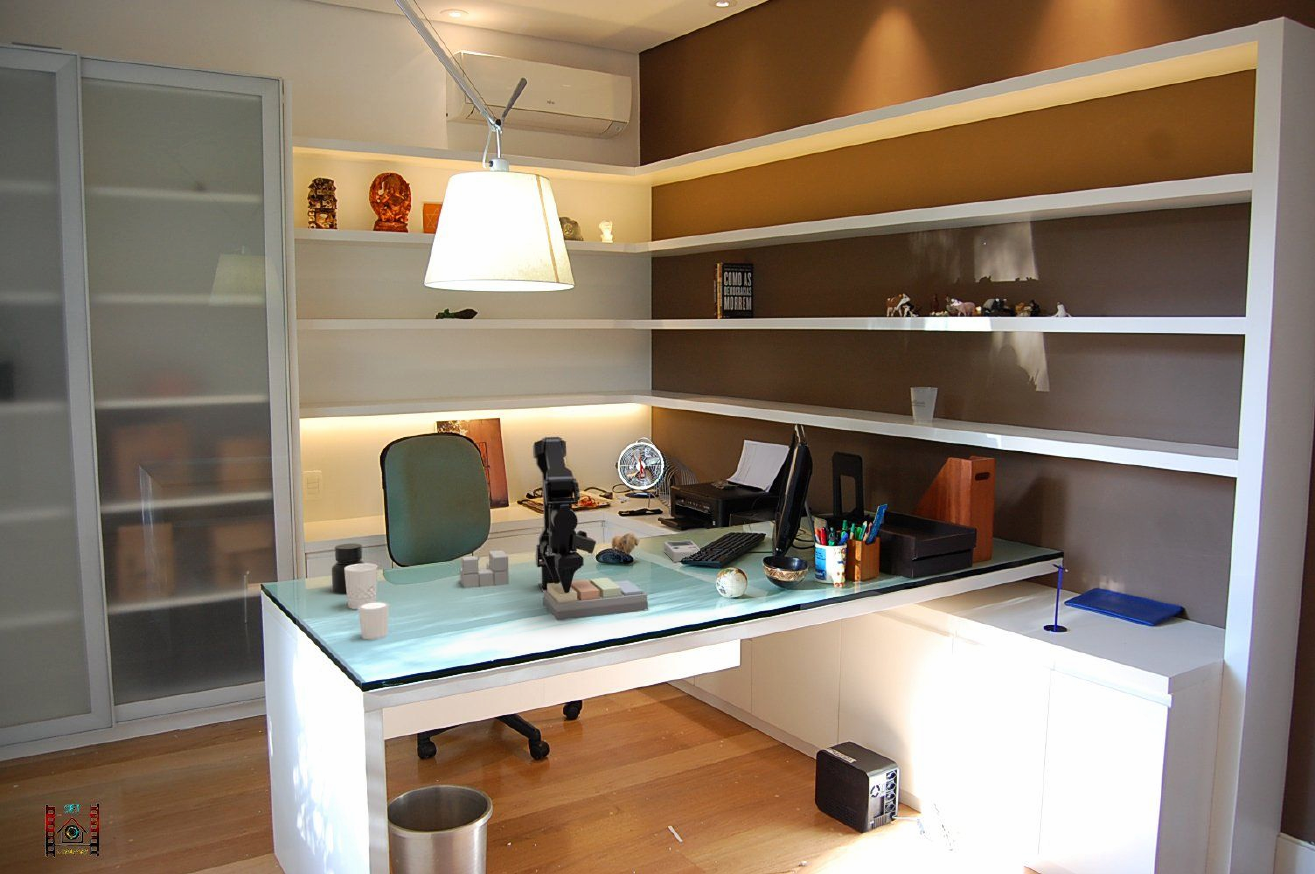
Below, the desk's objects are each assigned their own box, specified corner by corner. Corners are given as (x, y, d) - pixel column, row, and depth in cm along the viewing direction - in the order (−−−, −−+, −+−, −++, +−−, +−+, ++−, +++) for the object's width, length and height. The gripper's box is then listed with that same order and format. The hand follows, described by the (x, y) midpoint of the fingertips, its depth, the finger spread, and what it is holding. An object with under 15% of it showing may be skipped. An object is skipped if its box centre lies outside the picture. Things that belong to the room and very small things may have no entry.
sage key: (590, 588, 243) (590, 579, 243) (607, 586, 245) (607, 577, 245) (603, 599, 233) (603, 589, 233) (621, 597, 235) (621, 587, 234)
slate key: (611, 591, 245) (611, 582, 245) (628, 589, 247) (628, 580, 247) (625, 602, 235) (625, 592, 235) (642, 600, 237) (642, 590, 236)
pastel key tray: (543, 604, 241) (542, 590, 240) (629, 595, 249) (629, 581, 248) (557, 620, 228) (557, 604, 227) (647, 609, 236) (647, 594, 235)
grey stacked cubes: (500, 574, 272) (499, 547, 272) (508, 584, 261) (508, 556, 260) (457, 578, 268) (457, 550, 267) (464, 589, 257) (463, 560, 256)
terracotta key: (568, 590, 241) (568, 581, 241) (586, 588, 243) (586, 579, 243) (581, 601, 231) (581, 592, 231) (599, 599, 233) (599, 590, 232)
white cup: (384, 603, 243) (383, 564, 242) (365, 611, 236) (364, 571, 235) (358, 600, 246) (357, 562, 245) (339, 608, 239) (337, 569, 238)
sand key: (547, 592, 239) (547, 583, 239) (565, 590, 241) (564, 581, 241) (558, 604, 229) (558, 594, 229) (577, 602, 231) (577, 592, 230)
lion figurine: (641, 563, 284) (641, 533, 283) (626, 565, 281) (626, 535, 280) (615, 553, 296) (615, 525, 295) (601, 556, 293) (600, 527, 292)
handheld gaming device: (673, 563, 284) (673, 551, 284) (663, 552, 299) (663, 540, 298) (702, 562, 286) (702, 550, 286) (691, 551, 301) (691, 539, 300)
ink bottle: (375, 587, 258) (374, 544, 257) (352, 596, 250) (350, 551, 249) (347, 584, 262) (346, 541, 261) (324, 592, 254) (322, 547, 253)
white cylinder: (362, 631, 220) (361, 601, 220) (393, 630, 221) (392, 600, 220) (355, 640, 214) (354, 610, 213) (387, 639, 214) (386, 609, 213)
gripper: (603, 530, 227) (604, 594, 229) (581, 516, 245) (582, 575, 246) (558, 533, 223) (559, 598, 225) (539, 519, 241) (540, 580, 242)
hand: (561, 587), depth 235 cm, fingers open, 9 cm apart
